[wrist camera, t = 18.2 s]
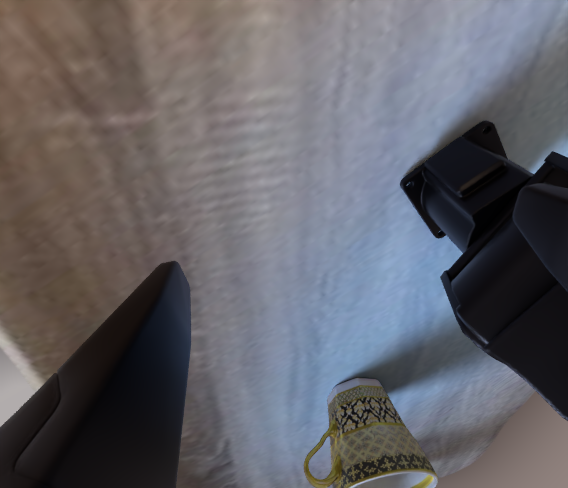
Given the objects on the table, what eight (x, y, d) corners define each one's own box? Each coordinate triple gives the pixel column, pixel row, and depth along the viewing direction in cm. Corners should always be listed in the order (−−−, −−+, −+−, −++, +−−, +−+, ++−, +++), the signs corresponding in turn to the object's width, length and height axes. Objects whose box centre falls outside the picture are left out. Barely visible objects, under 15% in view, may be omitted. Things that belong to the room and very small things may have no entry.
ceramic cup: (412, 371, 38) (460, 471, 30) (372, 415, 43) (404, 510, 35) (307, 362, 34) (330, 472, 26) (278, 411, 39) (290, 516, 31)
